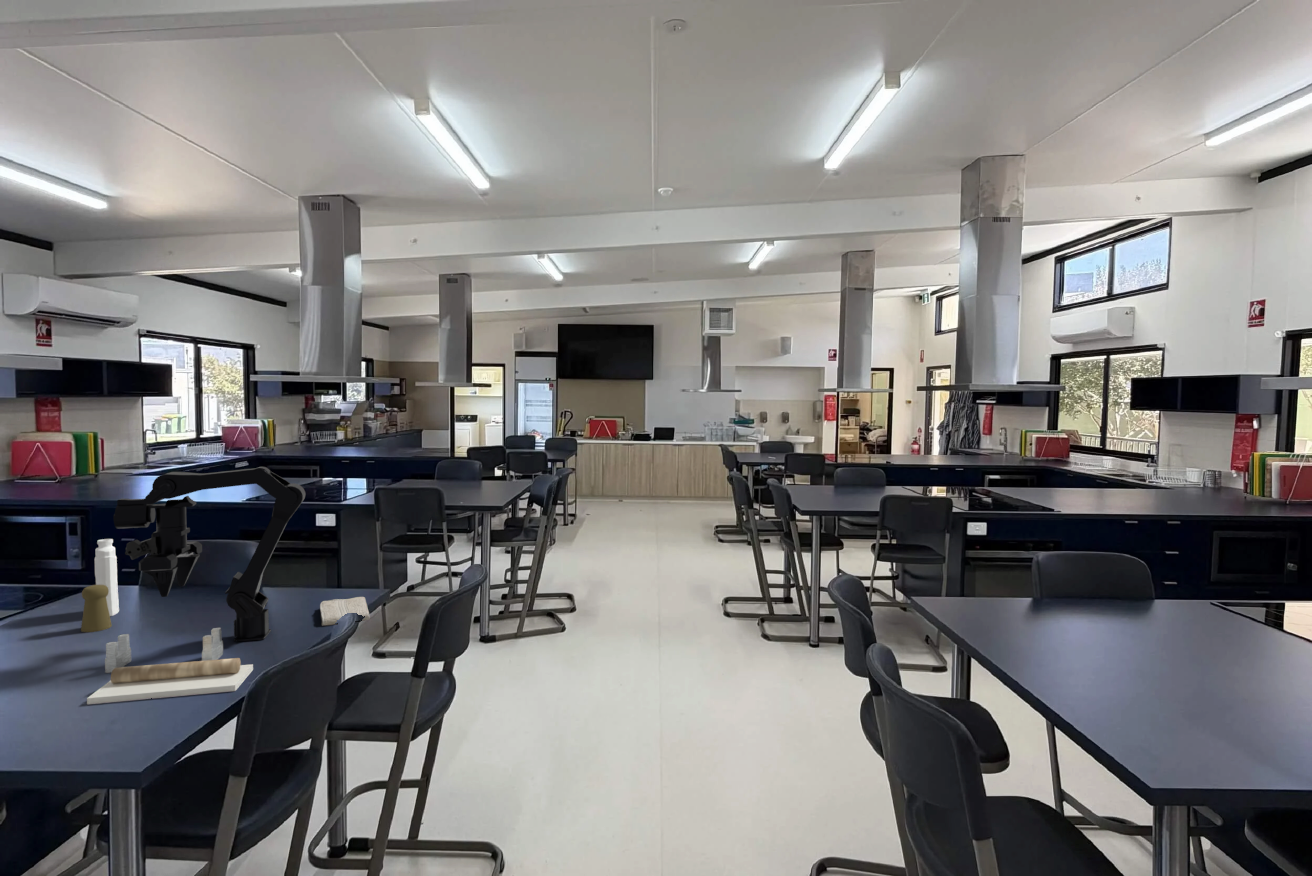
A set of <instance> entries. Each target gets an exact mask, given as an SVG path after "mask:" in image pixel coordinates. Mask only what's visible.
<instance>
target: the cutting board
mask: <svg viewBox="0 0 1312 876" xmlns="http://www.w3.org/2000/svg"><path fill="white" fill-rule="evenodd" d="M253 670H254V664H253V663H252V664H241V665H240V670H239V672H238V673H231V674H219V675H207V676H195V677H184V678H172V679H160V680H148V681H137V682H125V683H112V682H111V679H110V680H109V681H108V682H107V683H105V684H103V686H101V687H100V688H98V689H97V690H96V691H95V692H93V693H92V694H90V695H89V696H88V697H87V698H86V705H97V704H106V703H119V702H129V701H139V700H151V698H152V699H163V698H172V697H183V696H185V697H186V696H194V695H195V696H196V695H206V694H207V695H208V694H217V693H227V692H236V691H237V690H238V689H239V687H240V686H241V685H242V684H243V682H244V681H245V680H246V679H247V677H249V675H251V673H252V672H253Z"/></svg>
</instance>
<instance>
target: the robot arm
mask: <svg viewBox="0 0 1312 876" xmlns="http://www.w3.org/2000/svg"><path fill="white" fill-rule="evenodd" d="M247 485H248V486H249V485H257V486H259V487H260V488H261V489H263V491H265V492H266V493H267V494H269V495H270V496H271V497H272V498H275V501H274V504H273V507H272V514H271V517H270V520H269V522H268V524H267V526H266V528H265V530H264V533H263V534H262V536H261V538H260V540H259V543H258V545H257V546H256V548H255V551H254V553H253V555H252V557H251V559H250V560H249V563H248V565H247V567H246V569H245V571H244V572H243V573H242V572H241V571H237V573H236V574H235V575H233V577H232V580H231V583H230V586H229V587H228V589H227V590H226V591H225V592H224V594H225V595H226V594H227V595H226V598H225V600H226V604H227V607H228V606H229V608H230V609H232V610H234V612H235V617H236V619H234V620H233V635H234V636H233V637H234V639H233V641H234V642H244V641H245V642H247V641H261V640H265V639H266V638H267V636H269V634H270V633H272V629H269V628H270V626H269V625H270V624H269V609H267V608H265V607H266V606H267V604H268V601H269V597H267V596H266V595H265V594H263V593H262V592H260V588H261V584H262V581H263V580H262V579H263V576H264V572H265V569H266V567H267V565H268V563H269V561H270V559H271V557H272V555H273V553H274V550H275V549H276V547H277V545H278V543H279V540H280V538H281V536H282V534H283V533H284V530H285V528H286V526H287V524H288V522H289V521H290V519H291V518H292V517H293V515H294V514H295V512H296V511H297V510H298V508H299V507H300V506H301V504H302V503H303V501H304V500H305V498H306V491H305V488H304V487H303V486H302V485H300V484H298V483H290V482H289V481H288V480H286V479H285V478H283V477H282V476H279V475H278V474H276V473H274V472H272V471H271V470H270V469H269V468H268V467H266V466H259V467H256V468H244V469H235V470H226V471H218V472H217V471H216V472H215V471H214V472H208V473H205V472H204V473H199V472H198V473H197V472H187V471H186V472H183V471H171V472H167V473H163V474H161V475H159V476H156V478H155V479H154V480H153V482H152V488H151V490H150V492H148V493H147V495H145V497H144V498H120V499H119V498H118V499H117V501H116V503H117V504H116V506H115V510H114V514H113V517H112V518H113V525H114V527H115V528H116V529H119V530H120V529H133V528H134V529H138V528H148V527H149V526H150V525H151V523H155V522H156V523H155V524H156V531H154V532H152V533H151V538H148V539H145V540H142V541H140V540H138V539H135V540H132V541H129V542H127V543H126V547H125V548H124V550H125V552H124V554H125V555H126V556H129V557H130V559H131V561H133V560H137V559H138V558H140V557H142V556H145V555H147V556H145V557H143V558H142V559H141V560H140V561H138V571H140V572H141V571H142V573H143V574H147V575H149V576H150V577H152V578H153V580H154V583H155V585H156V587H157V590H158V592H159V595H160V596H161V598H167V597H168V595H169V593H170V591H171V588H172V585H173V582H174V580H175V576H176V580H177V585H178V587H184V586H186V584H187V581H188V579H189V577H190V575H191V573H192V571H193V569H194V567H195V565H196V563H197V561H198V559H199V558H200V555H201V553H203V544H202V543H200V542H199V540H195V541H188V537H187V536H188V534H189V533H190V532H191V528H190V527H187V507H188V508H189V507H194V506H195V505H197V501H195V500H194V499H192V498H191V497H190V496H189V494H192V493H195V492H199V491H204V490H211V489H219V488H230V487H237V486H238V487H239V486H247ZM182 496H183V498H182V499H174V498H177V497H182ZM166 499H167V500H166ZM163 500H166V502H165V503H158V502H161V501H163ZM156 503H157V504H156ZM148 554H149V555H148Z"/></svg>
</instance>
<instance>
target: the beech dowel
mask: <svg viewBox="0 0 1312 876" xmlns="http://www.w3.org/2000/svg"><path fill="white" fill-rule="evenodd" d="M240 665H242V662H241V658H240V657H234V658H221V659H220V658H218V659H217V660H206V661H202V660H199V661H198V660H197V661H183V662H171V663H159V664H158V663H157V664H147V665H134V666H124V667H119V668H114V669H113V671H112V673H110V680H111V682H112V683H125V682H137V681H148V680H160V679H172V678H184V677H195V676H207V675H219V674H231V673H238V672H239V670H240Z"/></svg>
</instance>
